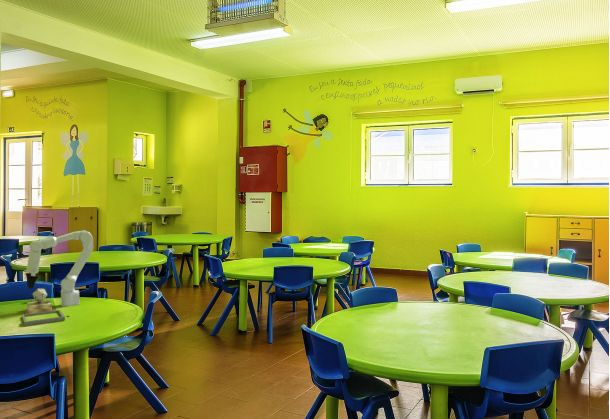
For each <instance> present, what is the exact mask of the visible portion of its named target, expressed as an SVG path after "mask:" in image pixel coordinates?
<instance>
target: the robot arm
mask: <svg viewBox="0 0 610 419" xmlns="http://www.w3.org/2000/svg"><path fill="white" fill-rule="evenodd" d="M71 240H76V241H80V242H81V244H82V248H83V249H82V250H81V252H80V254H79V255H78V258H77V259H76V261H75V262H74V265H73V266H72V267H71V269H70V271H69V272H68V274H67V275H66V276H65V277H64V278H63V279H62V280H61V281H60V287H61V288H62V289H61V290H60V303H61V304H60V305H61V307H72V306H78V305H81V304H80V302H81V301H80V290H79V289H75V284H76V282H77V279H78V277H79V274H80V273H81V271H82V269H83V268H84V266H85V264H86V263H87V261H88V259H89V257H90V256H91V254H92V253H93V251H94V248H95V247H94V237H93V235H92V233H91V232H90V231H88V230H85V229H84V230H79V231H72V232H70V233H67V234H63V235H60V236H56V237H55V236H54V235H48V236H47V237H44V238H38V240H32V242H30V243H29V253H28V259H27V265H26V269H24V270H23V272H26V273H25V277H26V285H27V287H28V289H30V290H33V288H34V287H35V284H36V281H37V280H38V278H39V276H38V273H39V270H40V269H39V268H40V261H41V256H42V255H41V253H42V249H43V250H46V249H49V248H53V247H56V246H57V245H58V243H63V242H67V241H71Z"/></svg>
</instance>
